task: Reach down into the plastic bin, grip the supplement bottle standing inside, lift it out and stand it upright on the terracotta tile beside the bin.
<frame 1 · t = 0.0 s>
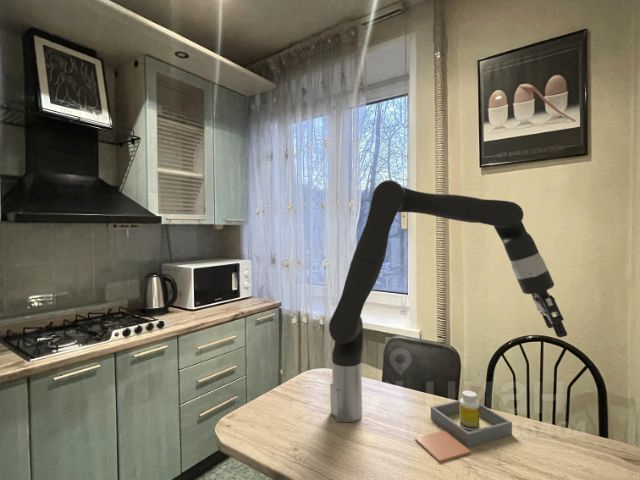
hand: (557, 331, 89), 31 cm above the table, tool tilted 20°, fingers open, 8 cm apart
tile: (442, 446, 92), on the table
bin: (469, 425, 102), on the table
supplement bottle: (469, 426, 102), resting in bin
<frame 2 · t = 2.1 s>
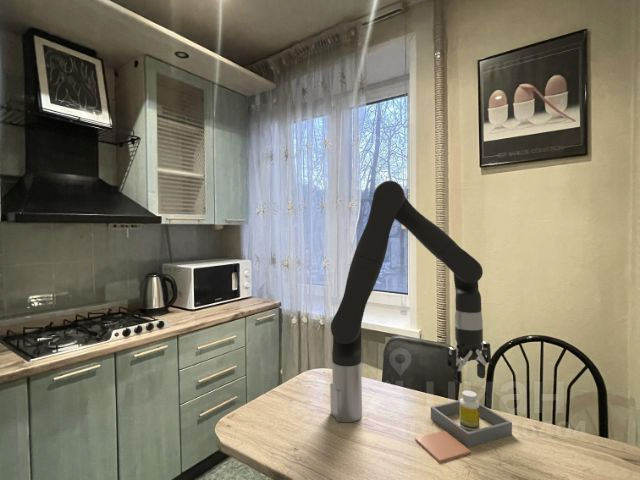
hand: (469, 379, 102), 14 cm above the table, tool pointing down, fingers open, 8 cm apart
nothing on the table moved.
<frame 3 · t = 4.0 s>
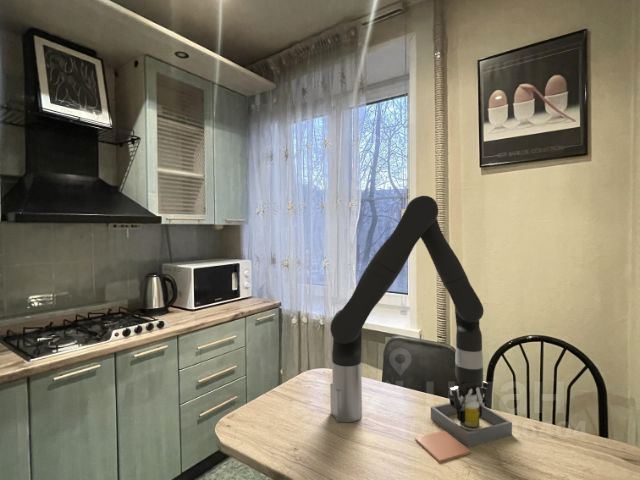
hand: (469, 419, 102), 2 cm above the table, tool pointing down, fingers closed on supplement bottle, 5 cm apart
supplement bottle: (469, 426, 102), resting in bin, touching gripper
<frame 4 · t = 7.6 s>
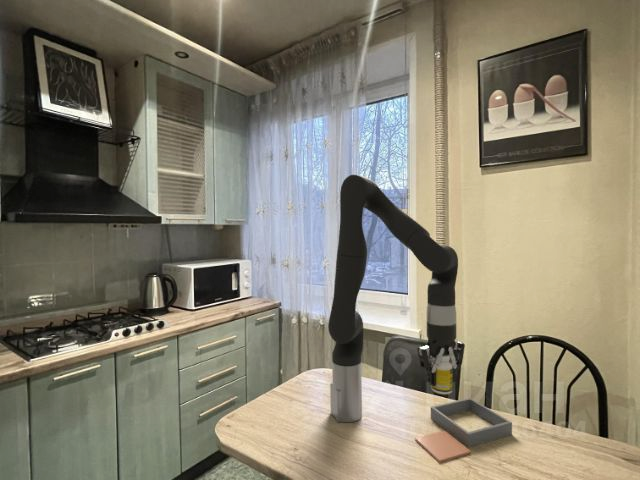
hand: (441, 382, 92), 17 cm above the table, tool pointing down, fingers closed on supplement bottle, 5 cm apart
supplement bottle: (441, 390, 92), point 15 cm above the table, touching gripper
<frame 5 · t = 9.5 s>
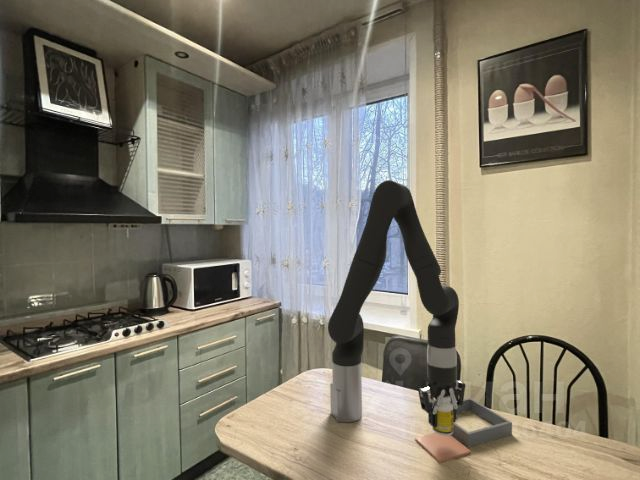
hand: (442, 423, 92), 6 cm above the table, tool pointing down, fingers closed on supplement bottle, 5 cm apart
supplement bottle: (443, 431, 92), point 4 cm above the table, touching gripper
when the fingers open (4 cm above the table, at t = 11.0 s): supplement bottle drops 1 cm, resting on tile.
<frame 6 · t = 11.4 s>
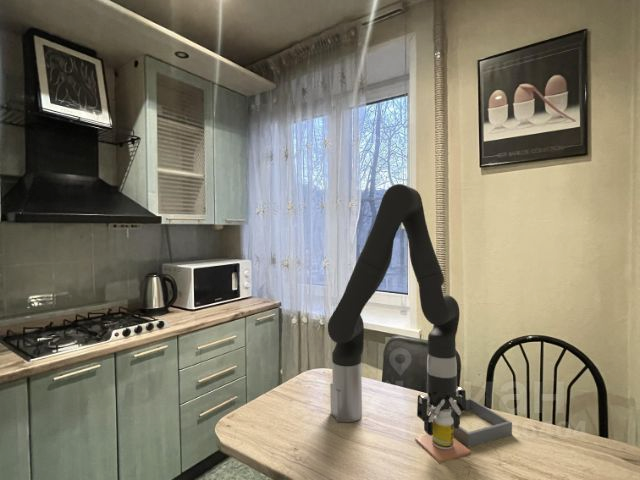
hand: (442, 430, 92), 4 cm above the table, tool pointing down, fingers open, 8 cm apart
supplement bottle: (442, 444, 92), resting on tile
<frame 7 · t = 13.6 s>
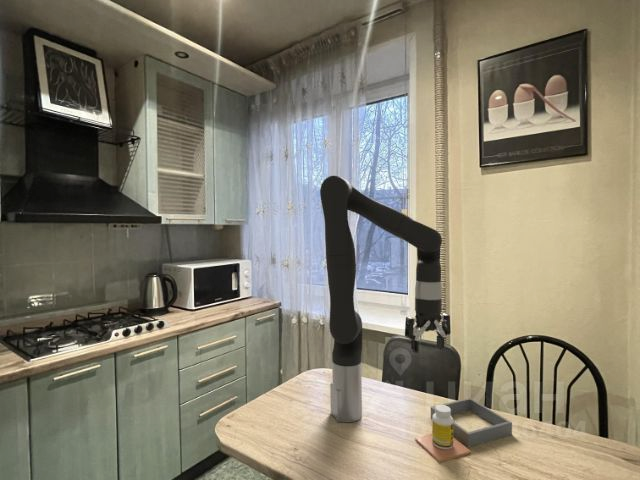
hand: (427, 350, 102), 23 cm above the table, tool pointing down, fingers open, 8 cm apart
nothing on the table moved.
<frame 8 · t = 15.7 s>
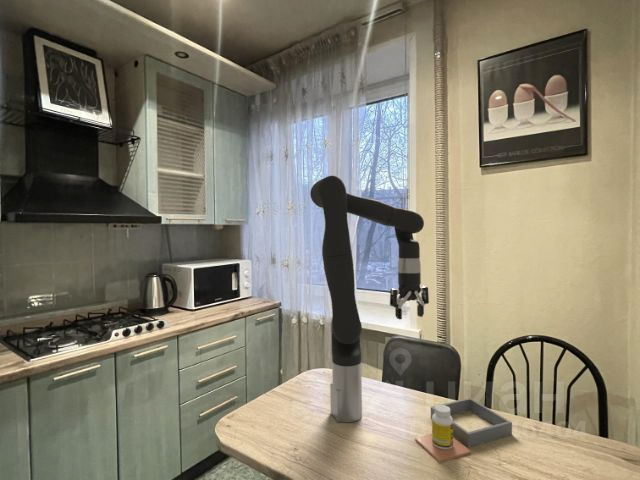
hand: (409, 317, 119), 28 cm above the table, tool pointing down, fingers open, 8 cm apart
nothing on the table moved.
at the end: supplement bottle 0.2 cm from the tile (horizontally); supplement bottle tilted 1°; the gripper is holding nothing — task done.
